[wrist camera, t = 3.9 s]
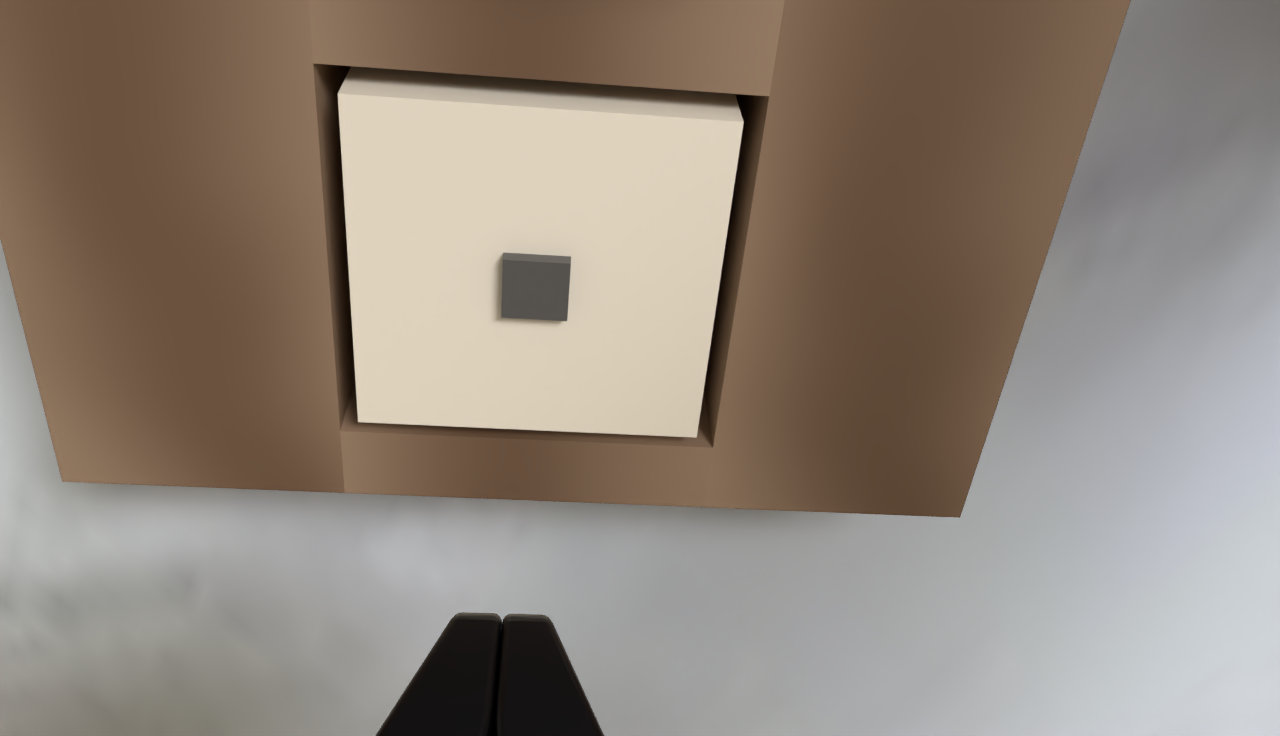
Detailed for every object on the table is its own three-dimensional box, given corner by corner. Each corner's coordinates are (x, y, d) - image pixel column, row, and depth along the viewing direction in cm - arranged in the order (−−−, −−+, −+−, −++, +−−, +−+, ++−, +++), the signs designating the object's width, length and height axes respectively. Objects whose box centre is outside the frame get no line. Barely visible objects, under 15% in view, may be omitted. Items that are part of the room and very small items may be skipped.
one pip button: (719, 44, 17) (745, 128, 14) (682, 330, 19) (697, 446, 17) (375, 18, 16) (334, 99, 14) (387, 315, 19) (355, 430, 16)
